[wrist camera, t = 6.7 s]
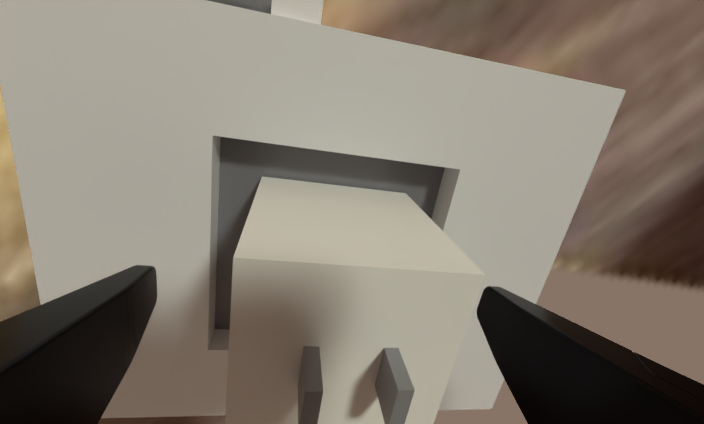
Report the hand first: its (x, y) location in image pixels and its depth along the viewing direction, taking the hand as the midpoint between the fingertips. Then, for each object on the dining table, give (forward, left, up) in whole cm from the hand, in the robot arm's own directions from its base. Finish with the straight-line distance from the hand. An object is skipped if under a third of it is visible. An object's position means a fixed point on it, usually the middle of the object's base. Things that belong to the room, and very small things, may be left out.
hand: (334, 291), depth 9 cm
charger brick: (0, 0, -2) cm, 2 cm away
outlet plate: (0, 0, -3) cm, 3 cm away
